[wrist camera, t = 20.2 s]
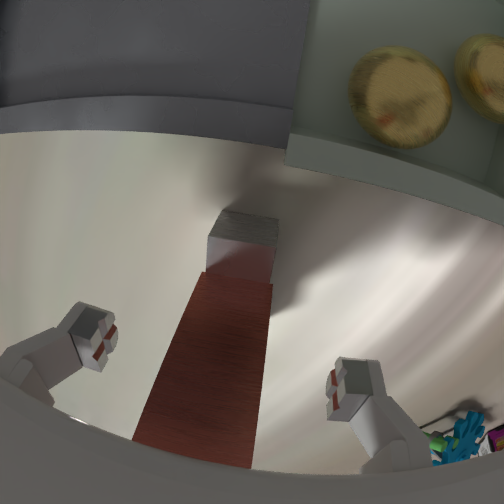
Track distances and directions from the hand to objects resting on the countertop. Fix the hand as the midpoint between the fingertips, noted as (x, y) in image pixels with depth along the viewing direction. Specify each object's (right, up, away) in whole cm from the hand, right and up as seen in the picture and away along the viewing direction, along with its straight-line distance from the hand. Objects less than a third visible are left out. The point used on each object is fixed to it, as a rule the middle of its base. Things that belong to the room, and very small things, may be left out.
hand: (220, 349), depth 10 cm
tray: (+7, +11, -2) cm, 14 cm away
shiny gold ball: (+11, +10, -2) cm, 15 cm away
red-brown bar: (+1, +2, +5) cm, 5 cm away
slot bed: (-6, +14, -1) cm, 15 cm away
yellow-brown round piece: (+7, +10, -3) cm, 12 cm away
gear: (+21, -14, +12) cm, 28 cm away
